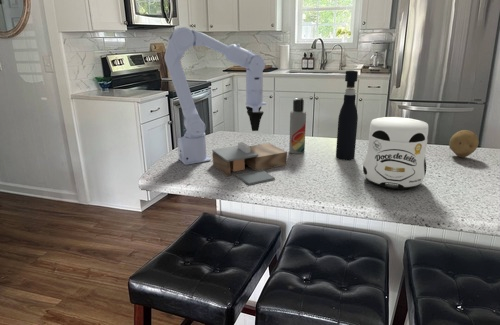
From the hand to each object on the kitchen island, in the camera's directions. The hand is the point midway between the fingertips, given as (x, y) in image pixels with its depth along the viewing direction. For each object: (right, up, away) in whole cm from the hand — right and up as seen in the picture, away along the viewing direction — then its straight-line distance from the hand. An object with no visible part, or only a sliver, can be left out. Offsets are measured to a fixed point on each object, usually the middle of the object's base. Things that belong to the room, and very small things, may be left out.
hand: (254, 128), depth 134 cm
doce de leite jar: (+41, -18, -23) cm, 50 cm away
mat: (0, -17, -19) cm, 26 cm away
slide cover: (-7, -10, -12) cm, 17 cm away
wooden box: (-2, -13, -8) cm, 16 cm away
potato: (+72, -11, -3) cm, 73 cm away
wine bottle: (+32, -11, -2) cm, 34 cm away
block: (-6, -14, -11) cm, 19 cm away
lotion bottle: (+16, -9, +5) cm, 19 cm away
